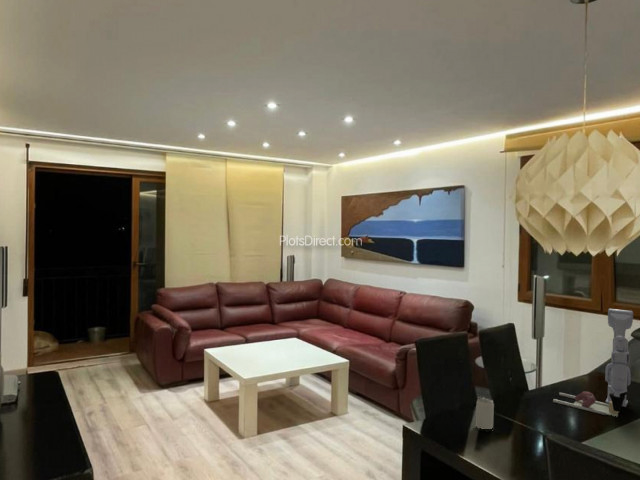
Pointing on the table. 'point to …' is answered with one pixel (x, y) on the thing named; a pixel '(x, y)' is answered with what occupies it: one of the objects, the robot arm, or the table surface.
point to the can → (484, 413)
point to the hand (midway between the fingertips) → (617, 408)
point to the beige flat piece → (601, 407)
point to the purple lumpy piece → (586, 398)
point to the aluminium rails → (579, 405)
